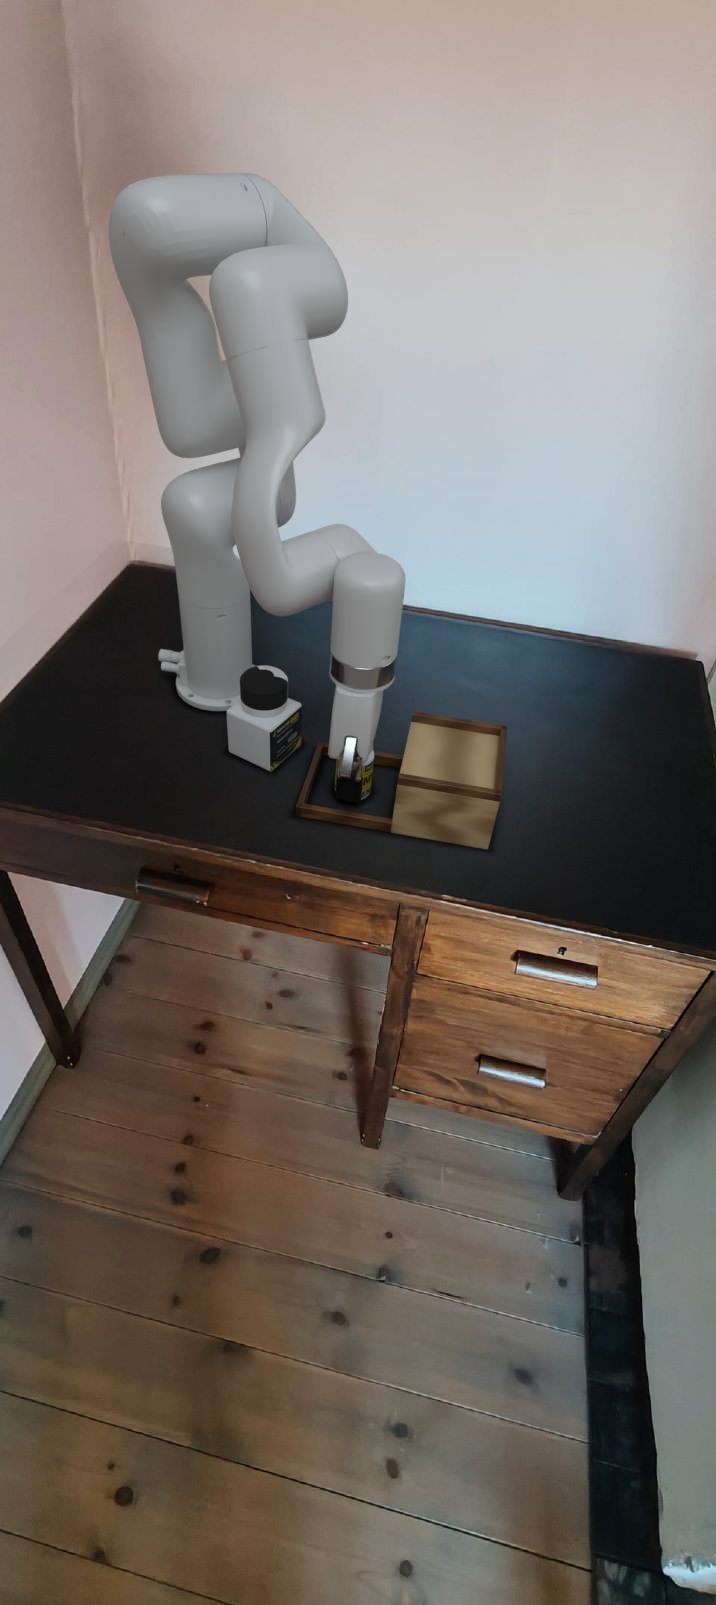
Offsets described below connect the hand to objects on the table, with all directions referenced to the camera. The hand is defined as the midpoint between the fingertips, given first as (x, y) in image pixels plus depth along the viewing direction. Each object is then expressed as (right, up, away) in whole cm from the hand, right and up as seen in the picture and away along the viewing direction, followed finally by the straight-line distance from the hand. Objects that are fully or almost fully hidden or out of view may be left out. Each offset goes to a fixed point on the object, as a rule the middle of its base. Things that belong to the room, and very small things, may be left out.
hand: (353, 780), depth 106 cm
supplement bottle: (0, -1, +1) cm, 2 cm away
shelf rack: (+6, -2, +1) cm, 6 cm away
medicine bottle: (-12, +4, +6) cm, 14 cm away
